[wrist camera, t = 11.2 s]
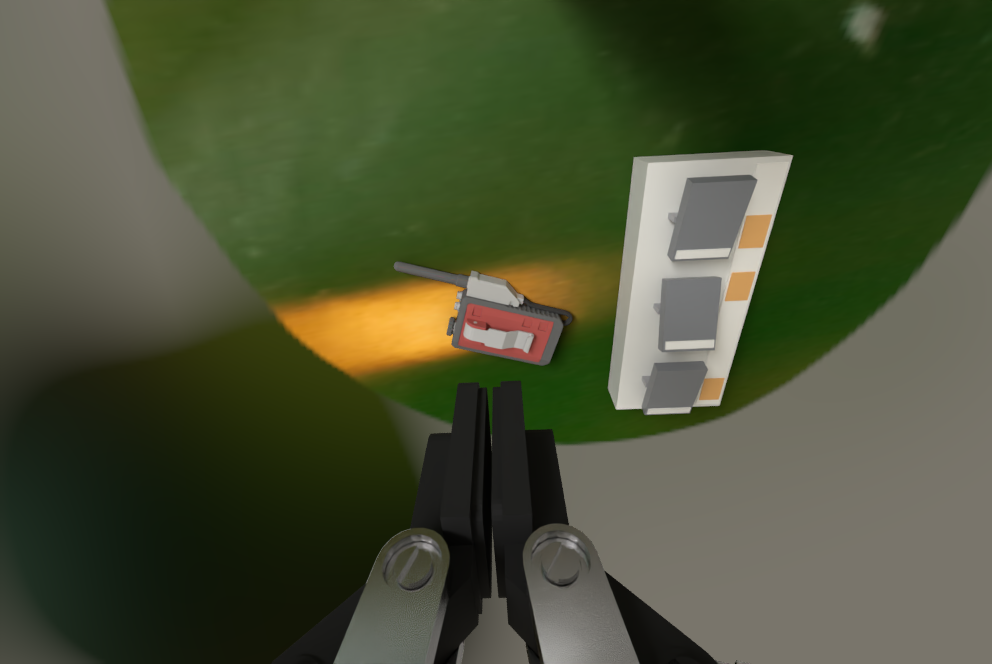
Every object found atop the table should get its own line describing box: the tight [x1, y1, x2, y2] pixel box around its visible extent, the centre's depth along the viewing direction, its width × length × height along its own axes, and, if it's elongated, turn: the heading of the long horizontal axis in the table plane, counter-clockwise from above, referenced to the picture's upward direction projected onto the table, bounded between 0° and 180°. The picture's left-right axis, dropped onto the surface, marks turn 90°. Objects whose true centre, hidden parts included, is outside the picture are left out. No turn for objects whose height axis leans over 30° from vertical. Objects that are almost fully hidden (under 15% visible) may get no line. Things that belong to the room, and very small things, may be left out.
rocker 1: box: [667, 175, 758, 262], centre depth 34 cm, size 7×5×1 cm
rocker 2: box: [658, 276, 722, 352], centre depth 38 cm, size 7×5×1 cm
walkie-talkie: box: [394, 262, 572, 366], centre depth 44 cm, size 9×4×20 cm
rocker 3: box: [641, 361, 708, 415], centre depth 43 cm, size 7×5×1 cm
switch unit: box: [608, 150, 793, 410], centre depth 41 cm, size 27×12×5 cm, turn 3°
